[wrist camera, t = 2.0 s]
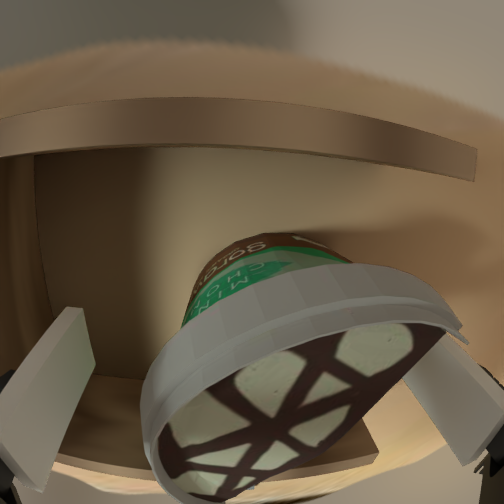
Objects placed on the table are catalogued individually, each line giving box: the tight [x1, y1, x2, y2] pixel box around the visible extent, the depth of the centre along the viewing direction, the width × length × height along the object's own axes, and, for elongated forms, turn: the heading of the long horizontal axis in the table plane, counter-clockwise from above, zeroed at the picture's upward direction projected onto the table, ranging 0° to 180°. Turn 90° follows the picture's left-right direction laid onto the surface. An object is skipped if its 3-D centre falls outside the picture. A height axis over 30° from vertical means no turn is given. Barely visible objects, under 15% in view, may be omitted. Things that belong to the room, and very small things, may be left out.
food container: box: [140, 233, 469, 504], centre depth 12 cm, size 12×6×10 cm, turn 139°
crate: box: [0, 97, 477, 482], centre depth 13 cm, size 20×16×7 cm
